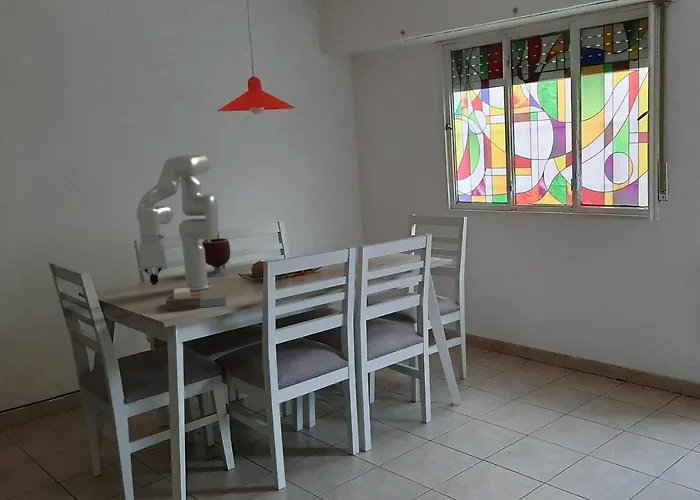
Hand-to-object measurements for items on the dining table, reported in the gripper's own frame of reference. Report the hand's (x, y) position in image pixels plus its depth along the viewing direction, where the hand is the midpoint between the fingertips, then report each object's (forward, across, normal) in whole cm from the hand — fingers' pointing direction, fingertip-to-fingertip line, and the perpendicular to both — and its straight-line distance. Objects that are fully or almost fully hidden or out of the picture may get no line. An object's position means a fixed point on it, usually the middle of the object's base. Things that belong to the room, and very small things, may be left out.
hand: (154, 284), depth 274 cm
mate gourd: (+8, -24, -67) cm, 72 cm away
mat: (+10, -22, -1) cm, 24 cm away
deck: (+10, -11, -1) cm, 15 cm away
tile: (+6, -10, -1) cm, 12 cm away
